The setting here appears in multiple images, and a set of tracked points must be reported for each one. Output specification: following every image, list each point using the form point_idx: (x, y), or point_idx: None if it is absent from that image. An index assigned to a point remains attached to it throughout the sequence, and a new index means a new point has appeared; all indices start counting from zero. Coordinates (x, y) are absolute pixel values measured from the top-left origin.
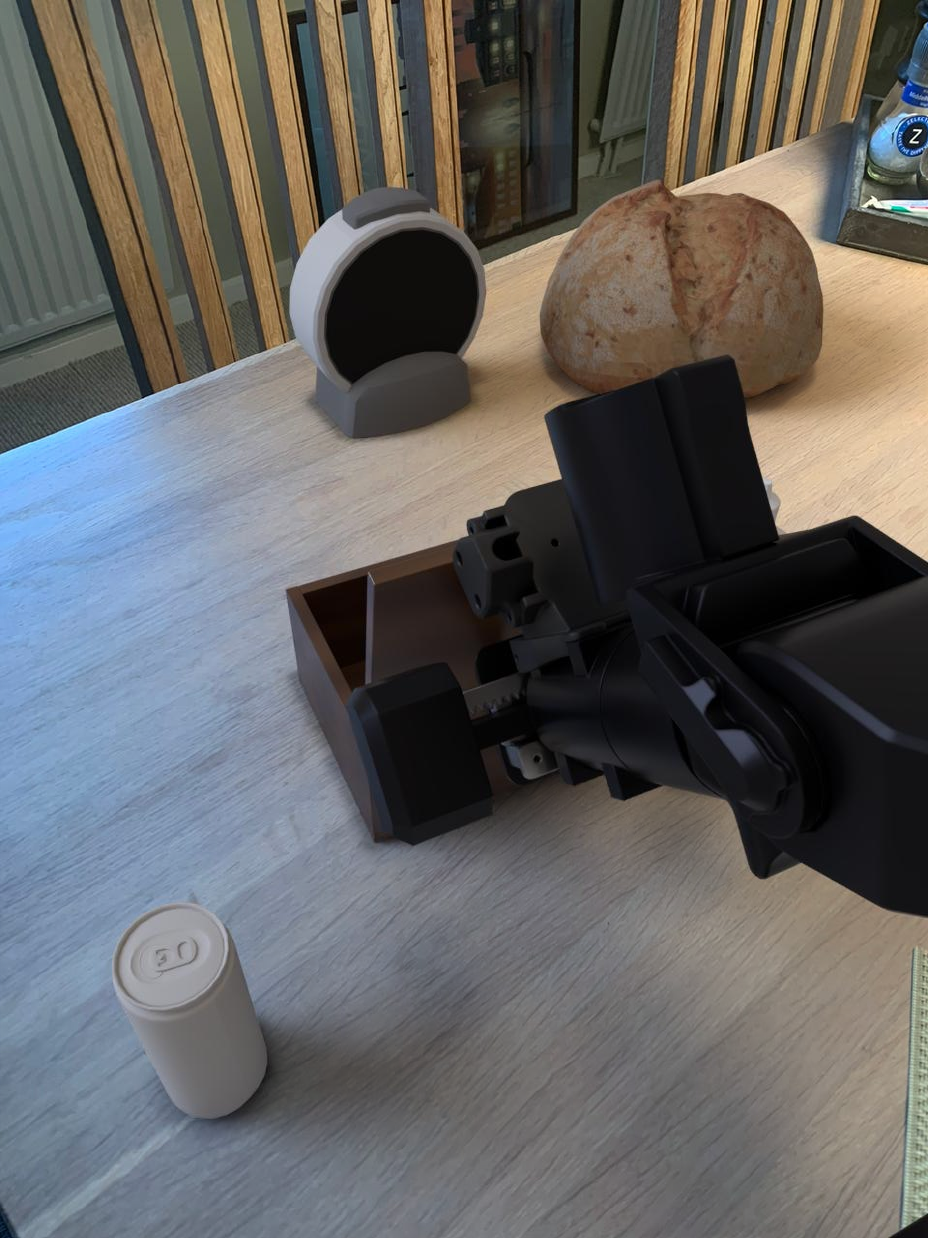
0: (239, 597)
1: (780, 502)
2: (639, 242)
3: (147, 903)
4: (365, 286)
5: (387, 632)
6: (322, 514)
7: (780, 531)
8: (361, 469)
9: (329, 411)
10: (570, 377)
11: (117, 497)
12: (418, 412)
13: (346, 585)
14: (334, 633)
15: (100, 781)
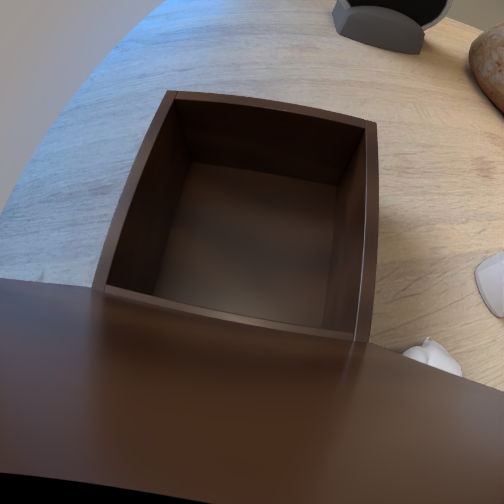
0: (200, 86)
1: None
2: None
3: (27, 262)
4: None
5: None
6: (290, 60)
7: None
8: (333, 49)
9: (335, 18)
10: (476, 78)
11: (193, 18)
12: (384, 40)
13: (217, 106)
14: (206, 139)
15: (55, 172)
